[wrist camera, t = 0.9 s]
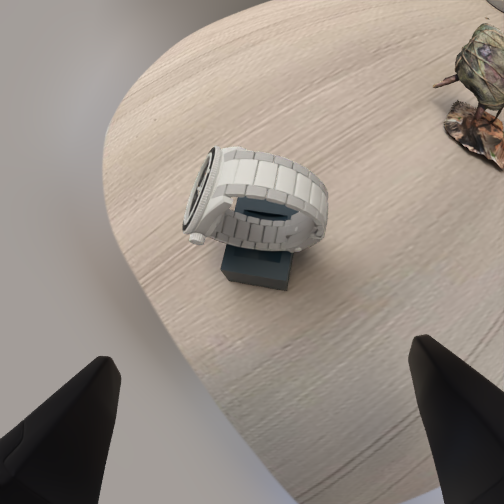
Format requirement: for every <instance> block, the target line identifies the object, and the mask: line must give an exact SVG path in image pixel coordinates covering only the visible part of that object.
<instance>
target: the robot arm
mask: <svg viewBox="0 0 504 504" xmlns="http://www.w3.org/2000/svg"><path fill="white" fill-rule="evenodd" d="M408 362H409V367H410V371H411V376H412V380H413V385H414V390H415V394H416V399H417V404H418V408H419V411H420V415H421V418H422V421H423V424H424V427H425V431H426V434H427V437H428V441H429V444H430V448H431V451H432V455H433V459H434V462H435V466H436V470H437V474H438V478H439V482H440V486H441V490H442V495H443V499H444V503H445V504H504V392H503V391H502V390H501V389H499V388H498V387H497V386H495V385H494V384H493V383H492V382H490V381H489V380H488V379H486V378H485V377H484V376H483V375H481V374H480V373H479V372H477V371H476V370H475V369H473V368H472V367H471V366H469V365H468V364H467V363H465V362H464V361H463V360H462V359H460V358H459V357H458V356H456V355H455V354H454V353H452V352H451V351H450V350H448V349H447V348H446V347H444V346H443V345H441V344H440V343H439V342H437V341H436V340H435V339H433V338H432V337H431V336H429V335H427V334H425V335H419V336H415V337H414V339H413V342H412V345H411V349H410V352H409V357H408ZM120 385H121V375H120V372H119V371H118V369H117V367H116V365H115V363H114V361H113V360H112V358H111V357H108V356H98V357H97V358H96V359H94V360H93V361H92V362H91V363H90V364H88V365H87V366H86V367H85V368H84V369H82V370H81V371H80V372H79V373H78V374H76V375H75V376H74V377H73V378H72V379H71V380H69V381H68V382H67V383H66V384H65V385H64V386H62V387H61V388H60V389H59V390H58V391H56V392H55V393H54V394H53V395H52V396H51V397H49V398H48V399H47V400H46V401H45V402H44V403H43V404H41V405H40V406H39V407H38V408H37V409H35V410H34V411H33V412H32V413H31V414H30V415H28V416H27V417H26V418H25V419H24V420H23V421H21V422H20V423H19V424H18V425H17V426H16V427H14V428H13V429H12V430H11V431H10V432H8V433H7V434H6V435H5V436H3V437H2V438H1V439H0V504H98V500H99V495H100V490H101V484H102V479H103V474H104V470H105V464H106V460H107V456H108V451H109V447H110V442H111V438H112V434H113V429H114V425H115V419H116V414H117V406H118V399H119V392H120Z"/></svg>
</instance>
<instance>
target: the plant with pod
mask: <svg viewBox="0 0 504 504" xmlns="http://www.w3.org/2000/svg"><path fill="white" fill-rule="evenodd" d="M485 18H486V17H485ZM486 19H489V18H486ZM455 72H456V73H457V74H456V75H453V76H450V77H448V78H445V79H444V80H443V81H441V82H438V83H436V84H434V85H433V88H438V87H442V86H444V85H448V84H451V83H454V82H456V81H459V80H460V81H461V82H462V83H463V84H464V86H465V87H466V88H468V89H469V90H470V91H471V92H473V93H474V95H475V96H476V98H477V100H478V101H479V103H478V107H477V109H476V107H475V109H474V107H473V106H470V105H468V104H466V102H465V103H463V102H462V103H461V102H460V103H459V101H458V100H457V102H455V104H454V103H453V104H454V105H452V106H454V107H451V108H452V110H451V111H450V112H449V114H450V115H446V116H447V119H446V120H447V121H445V122H444V123H445V124H444V125H445V129H446V130H447V131H448V132H449V135H450V134H451V136H453V138H454V137H455V138H456V140H457V141H460V143H462V144H463V146H466V147H467V148H468V149H469V150H470V151H471V150H472V152H473V151H474V152H475V153H479V154H484V155H485V156H486V157H487V159H493V160H494V161H495V162H497V164H498V165H499V166H500V168H501V169H502V168H504V132H503V131H502V129H503V126H502V125H503V124H502V122H501V121H500V120H499V119H497V117H498V116H499V114H500V113H501V110H502V109H503V107H504V33H503V32H502V31H501V30H499V29H498V28H496V27H494V26H492V25H489V24H487V23H485V24H481V26H479V27H478V28H477V29H476V30H475V32H474V34H473V36H472V39H470V41H469V43H468V44H467V45H465V46H464V47H462V51H461V52H460V53H459V54H458V55H457V57H456V62H455ZM486 109H489V110H493V111H495V110H499V111H498V113H497V115H496V117H495V116H493V115H491V114H489V113H487V112H485V110H486Z"/></svg>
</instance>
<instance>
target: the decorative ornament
mask: <svg viewBox="0 0 504 504" xmlns="http://www.w3.org/2000/svg"><path fill="white" fill-rule="evenodd" d="M488 1H489V3H490V4H492V5H493V6H495V7H496V8H497V9H499V10H501V11H502V12H504V0H488Z"/></svg>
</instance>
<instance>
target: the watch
mask: <svg viewBox="0 0 504 504" xmlns="http://www.w3.org/2000/svg"><path fill="white" fill-rule="evenodd" d="M273 161H274V163H273ZM258 164H259V165H258ZM277 172H278V174H277ZM256 173H257V174H256ZM255 177H256V178H255ZM276 177H277V179H276ZM275 182H276V184H275ZM274 187H275V189H274ZM267 191H268V192H267ZM245 195H246V196H245ZM266 195H267V197H266ZM231 197H238V199H237V203H236V207H235V211H233V210H230V209H229V208H230V207H231V205H232V203H233V199H232V198H231ZM299 211H300V212H299ZM327 219H328V192H327V189H326V187H325V185H324V184H323V183H322V182H321V181H320V179H319V178H318V177H317V176H316V175H315V174H313V173H312V172H311V171H309V170H308V169H307V168H305V167H304V166H302V165H300V164H298V163H296V162H294V163H293V161H291V160H289V159H287V158H284V157H281V156H278V155H275V158H274V155H273V154H270V153H265V152H259V151H256V153H255V152H254V151H248V150H246V149H245V148H243V147H240V146H235V147H228V148H224V149H221V148H220V147H219V146H214V147H213V148H212V149H211V150H210V152H209V153H208V155H207V157H206V159H205V161H204V162H203V164H202V166H201V169H200V171H199V173H198V175H197V178H196V180H195V183H194V185H193V188H192V191H191V194H190V197H189V200H188V203H187V207H186V211H185V215H184V220H183V233H185V234H191V235H190V239H189V241H190V242H191V243H193V244H197V245H204V242H205V238H206V237H210V238H213V239H214V240H217V241H220V242H223V243H227V244H226V249H225V253H224V257H223V261H222V266H221V271H222V272H223V274H224V275H225V276H226V278H227V279H228V280H229V281H233V282H239V283H244V284H250V285H256V286H261V287H267V288H273V289H279V290H285V291H287V286H288V280H289V275H290V269H291V263H292V258H293V252H300V251H301V250H303V249H306V248H308V247H311V246H312V245H314V244H316V243H317V242H319V241H320V240H321V239H323V238H324V235H325V231H326V225H327Z"/></svg>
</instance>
